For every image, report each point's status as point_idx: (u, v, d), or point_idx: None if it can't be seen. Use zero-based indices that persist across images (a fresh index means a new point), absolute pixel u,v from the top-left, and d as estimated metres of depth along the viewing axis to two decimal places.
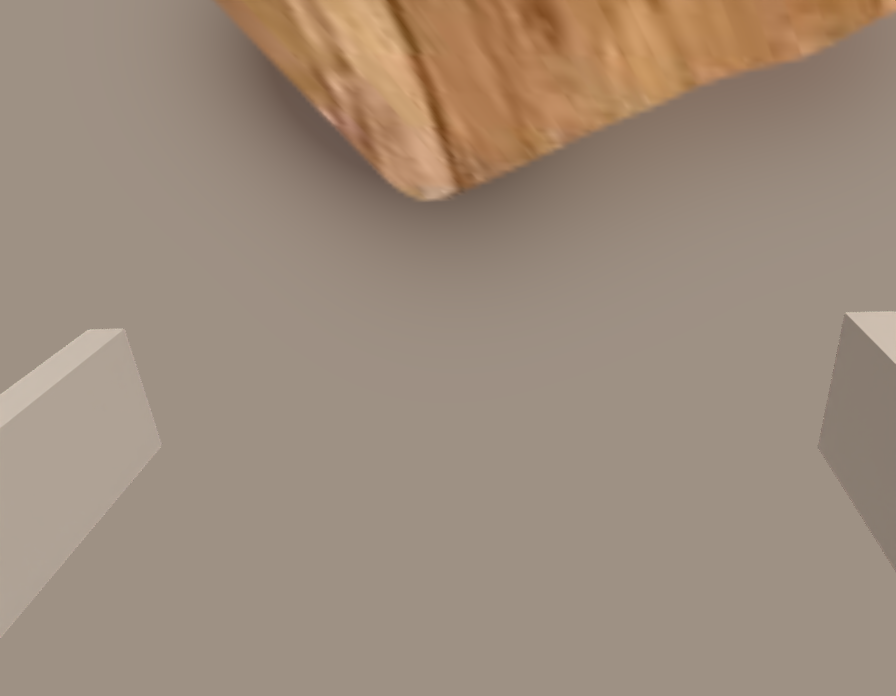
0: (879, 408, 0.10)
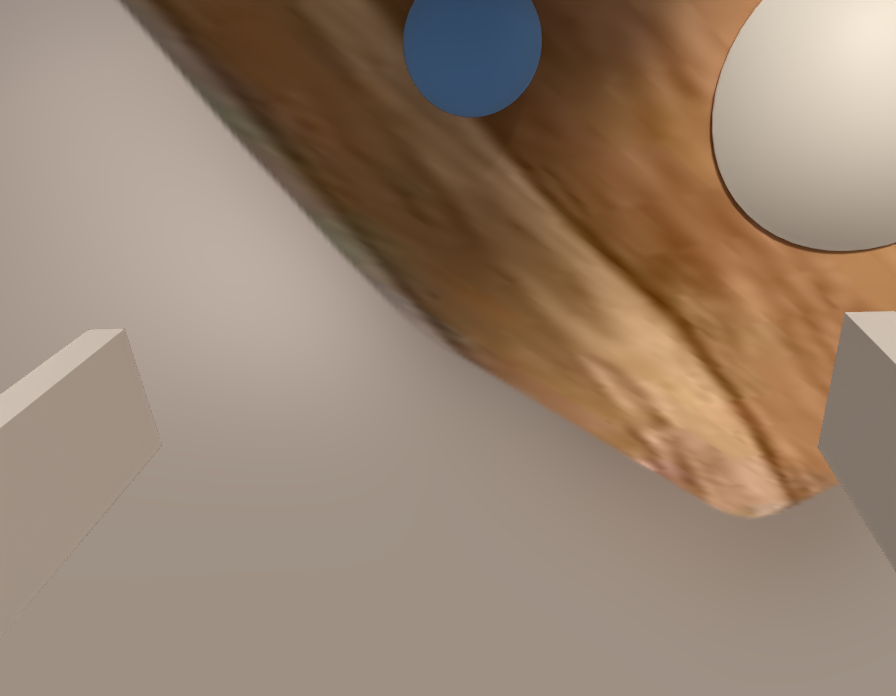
0: (879, 408, 0.10)
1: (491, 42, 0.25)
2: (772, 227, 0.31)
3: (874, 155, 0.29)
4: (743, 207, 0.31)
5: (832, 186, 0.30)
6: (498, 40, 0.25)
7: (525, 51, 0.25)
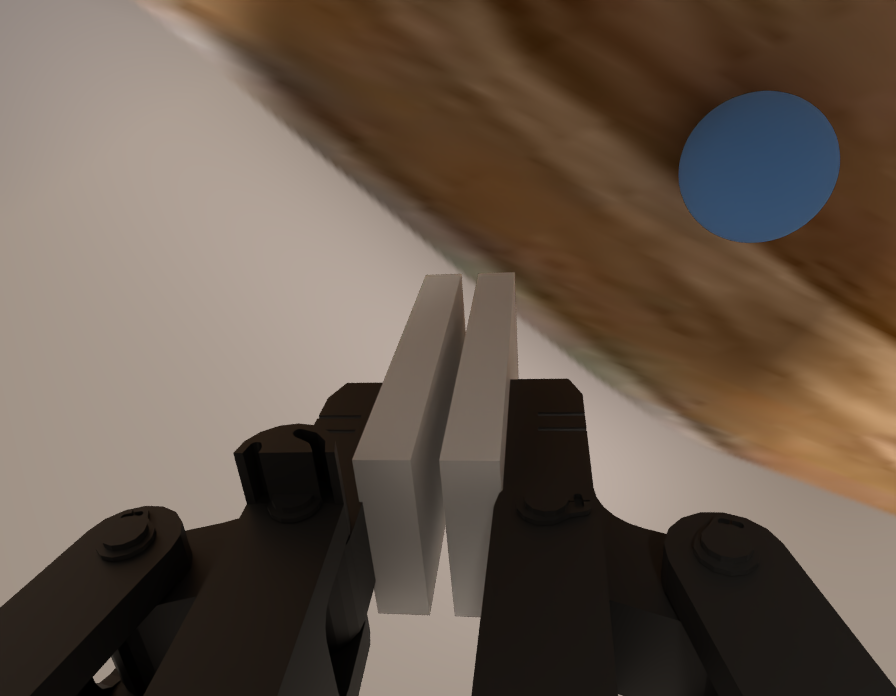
0: None
1: (805, 177, 0.23)
2: None
3: None
4: None
5: None
6: (812, 173, 0.23)
7: (834, 173, 0.24)
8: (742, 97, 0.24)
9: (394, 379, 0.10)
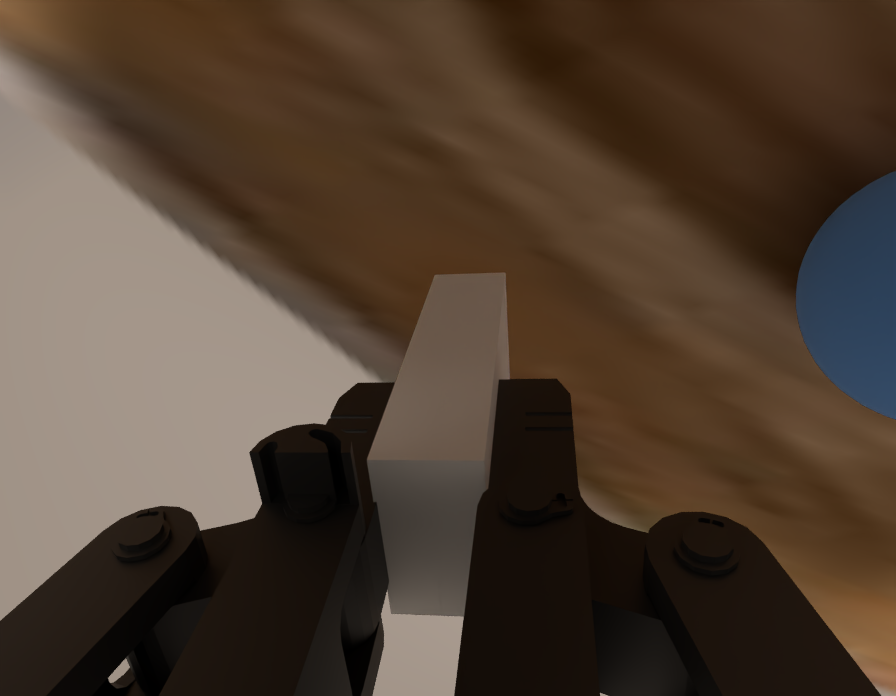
0: None
1: None
2: None
3: None
4: None
5: None
6: None
7: None
8: None
9: (406, 379, 0.10)
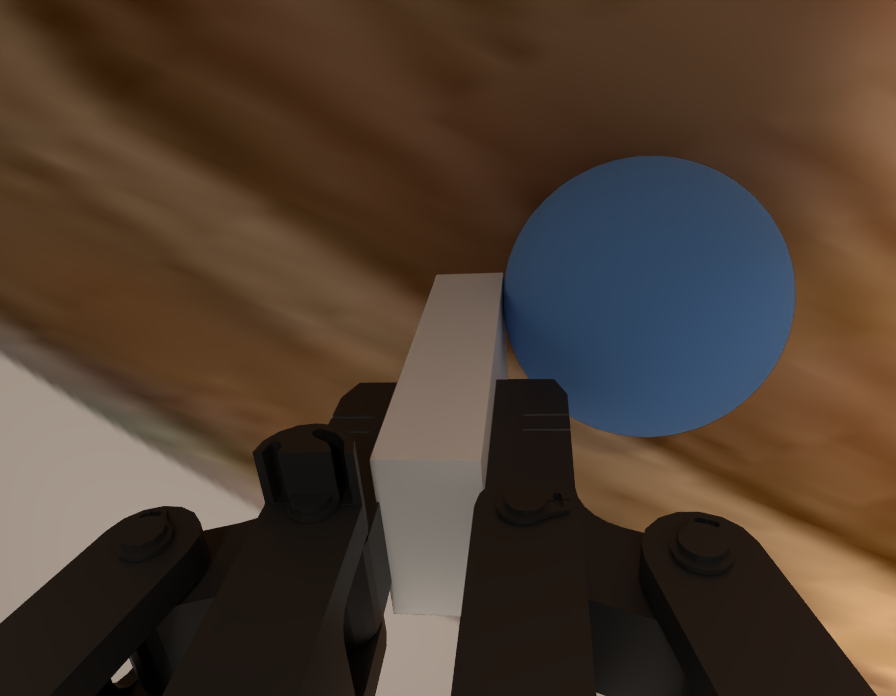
0: None
1: (784, 321, 0.12)
2: None
3: None
4: None
5: None
6: (789, 310, 0.12)
7: None
8: (614, 182, 0.12)
9: (409, 379, 0.10)
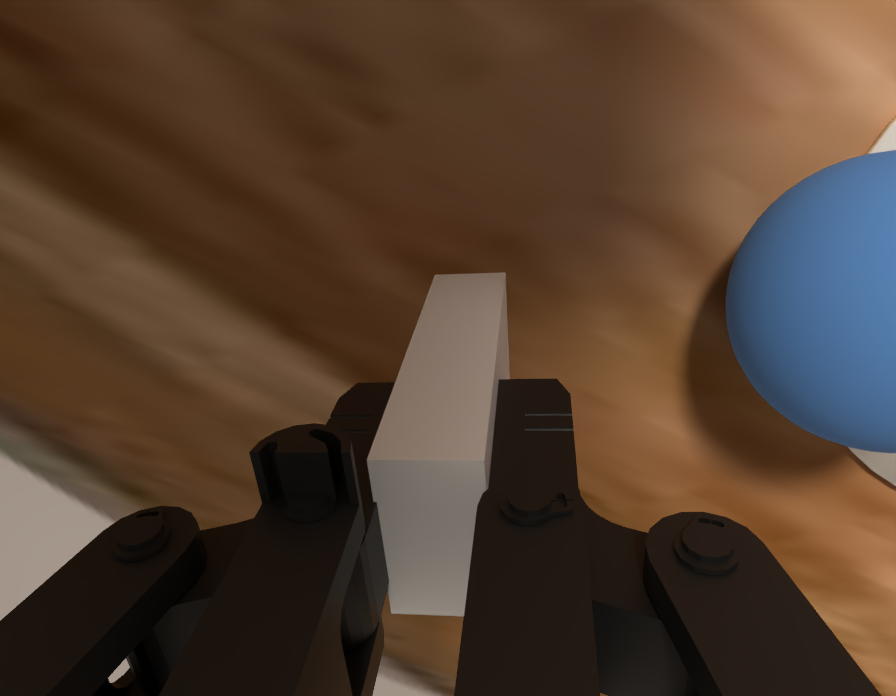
0: None
1: None
2: None
3: None
4: (887, 477, 0.17)
5: None
6: None
7: None
8: None
9: (406, 379, 0.10)
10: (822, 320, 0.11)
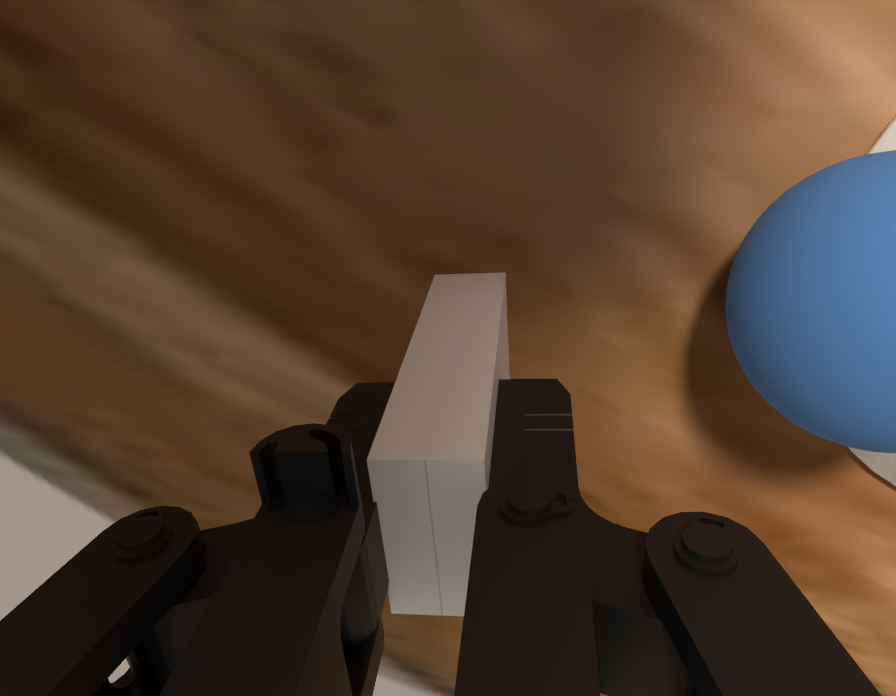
0: None
1: None
2: None
3: None
4: (887, 477, 0.17)
5: None
6: None
7: None
8: None
9: (406, 379, 0.10)
10: (822, 320, 0.11)
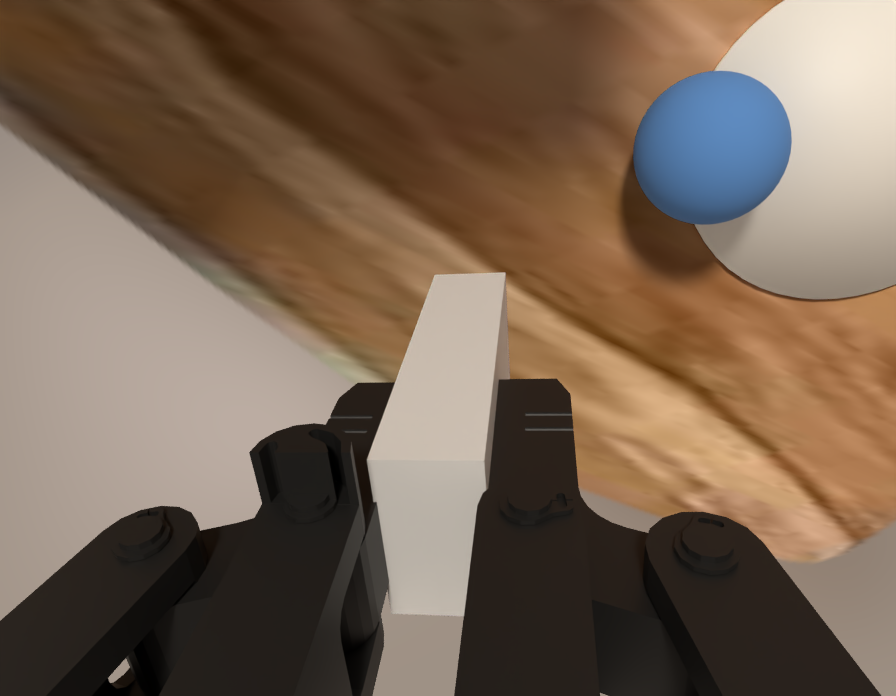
0: None
1: None
2: (772, 287, 0.30)
3: (865, 200, 0.28)
4: (737, 273, 0.30)
5: (827, 237, 0.29)
6: None
7: None
8: None
9: (406, 379, 0.10)
10: (667, 146, 0.24)
